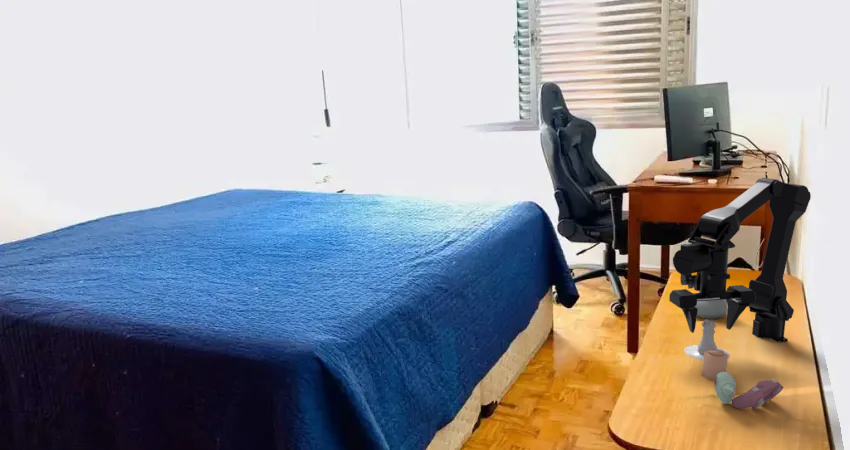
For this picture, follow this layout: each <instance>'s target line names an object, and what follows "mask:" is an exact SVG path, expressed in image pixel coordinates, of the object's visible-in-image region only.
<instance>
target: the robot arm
mask: <svg viewBox="0 0 850 450" xmlns="http://www.w3.org/2000/svg"><path fill="white" fill-rule="evenodd" d="M811 196H812V195H811V192H810V191H809V189H808V187H807V186H805V185H802V184H796V183H795V184H794V183H788V182H784V181H782V180H779V179H776V178H775V179H774V178H768V177H762V178H758V179H757V180H756V181H755V183H754V184H753V185H752V186H751V187H749V188H748V189H747V190H746V191H744V192H743V193H742V194H740V195H739V196H737V197H736V198H735V199H733V201H731V202H730V203H728V204H727V205H726V206H723V207H720V208H715V209H711V210H709V211H708V212H705V214H702V216H701V217H700V218H699V219H698V222H697V224H696V226H695V228H694V229H693V232H692V233H691V235H690V237H689V238H688V241H687V242H688V243H683V244H680V249H679V250H676V252H675V253H674V256H673V257H672V264H673V267H674V269H675V271H676V272H677V273H678V274H680V278H679V279H680V285H682V286H687V288H688V289H693V290H694V291H696V293H693V292H691V291H690V290H688V289H673V290H672V291H671V292H670V293H669V298H668V299H669V302H670V303H671V304H673V305H674V306H676V307H677V308H680V309H681V310H682V312H683V314H684V317H685V320H686V323H687V325H688V326H687V327H688V329H689V332H691V333H692V334H694V332H695V329H696V325H697V324H696V323H697V317H698V316H697V311H698V309H697V308H696V307H695V306H696V305H697V301H709V300H722V299H726V302H727V314H726V320H725V323H726V329H727V330H728V331H730V330H731V329H732V328H733V326H734V325H735V323H736V322H737V320H738V319H739V317H740V316H741V315H742V313H743V312H744V311H745V309H746V308H749V312H752V313H755V314H754V319H753V321H752V330H751V331H752V332H751V334H752V335H753V336H755V337H756V338H761V339H769V340H770V339H771V340H772V341H775V342H776V343H783V342H789V339H788V338H786V337H785V331H786V329H785V328H786V322H789V321H790V319H792V317H793V315H794V311H795V310H794V308H793V307H792V306H791V304H790V303H789V302H788V301H787V296H788V289H787V286H786V283H785V281H784V276H785V271H786V266H787V262H788V256H789V254H790V249H791V244H792V240H793V235H794V232H795V227H796V222H797V221H798V220H799V219H801V217H802V216H803V215H804V214H805V213H806V211H807V209H808V206H809V203H810V200H811V198H812V197H811ZM767 202H769V203H768V206H769V207H768V208H769V209H770V213H771V215H772V221H771V222H772V223H771V226H770V227H771V228H770V232H769V236H768V240H767V245H766V250H765V254H764V257H763V263H762V267H761V272H760V274H759V275H758V276H757V277H756V278H755V279H750V281H748V282H749V283H748V286H745V285H743V284H737V285H736V284H735V285H729V286H728V287H727V282H728V281H727V280H730V279H731V273H728V265H729V264H728V263H729V262H728V261H729V249H733V248H735V247H736V244H735V243H734V242H732V238H734V236H735V235H736V234H737V233H738V232H739V231H740V227H741V224H742V222H744V220H746V219H747V218H748V217H750V216H751V215H752V214H754V212H756V211H757V210H759V209H760V208H762V206H763V205H765V204H767ZM694 273H695V274H694Z"/></svg>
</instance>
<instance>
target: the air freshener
mask: <svg viewBox="0 0 850 450" xmlns="http://www.w3.org/2000/svg"><path fill="white" fill-rule="evenodd" d="M695 307H696V308H697V309H698V311H697V317H699V318H703V319H708V320H717V319H721V318H724V317H727V308H728V305H727V302H726V299H722V300H709V301H697V305H696V306H695Z"/></svg>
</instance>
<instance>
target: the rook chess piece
mask: <svg viewBox="0 0 850 450" xmlns="http://www.w3.org/2000/svg"><path fill="white" fill-rule="evenodd" d="M701 326H702V327H703V328H702V330H701V331H702V337H701V340H700V342H699V343H698V344H697V345H698V349H697V351H698V352H699V353H700V354H702V355H704V351H706V350H709V349H717V345H716V341H715V333H716V331H715V328H716V327H717V324H716V320H713V319H707V318H705V319H704V320H703V322H702V323H701Z"/></svg>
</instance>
